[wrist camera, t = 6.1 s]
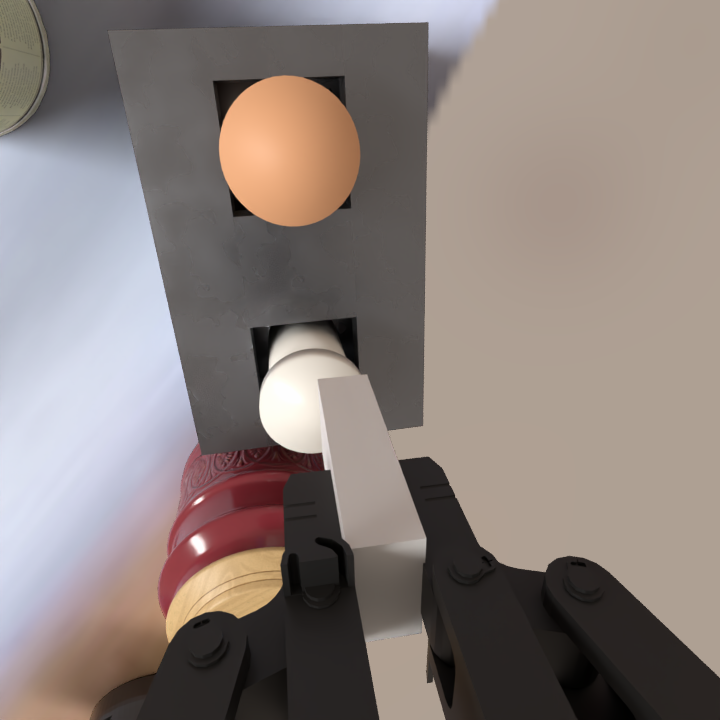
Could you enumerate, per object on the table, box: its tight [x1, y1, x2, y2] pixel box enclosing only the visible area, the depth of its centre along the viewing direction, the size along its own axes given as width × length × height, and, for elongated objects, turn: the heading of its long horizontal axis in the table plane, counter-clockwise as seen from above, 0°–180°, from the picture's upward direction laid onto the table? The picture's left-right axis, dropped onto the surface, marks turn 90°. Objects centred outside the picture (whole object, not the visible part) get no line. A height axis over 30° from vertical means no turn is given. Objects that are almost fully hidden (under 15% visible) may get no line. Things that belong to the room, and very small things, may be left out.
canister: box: [158, 442, 325, 643], centre depth 34 cm, size 13×13×18 cm
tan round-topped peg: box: [219, 75, 360, 226], centre depth 24 cm, size 6×6×9 cm
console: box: [107, 22, 428, 455], centre depth 31 cm, size 22×14×8 cm, turn 3°
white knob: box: [259, 319, 361, 453], centre depth 30 cm, size 6×6×9 cm
